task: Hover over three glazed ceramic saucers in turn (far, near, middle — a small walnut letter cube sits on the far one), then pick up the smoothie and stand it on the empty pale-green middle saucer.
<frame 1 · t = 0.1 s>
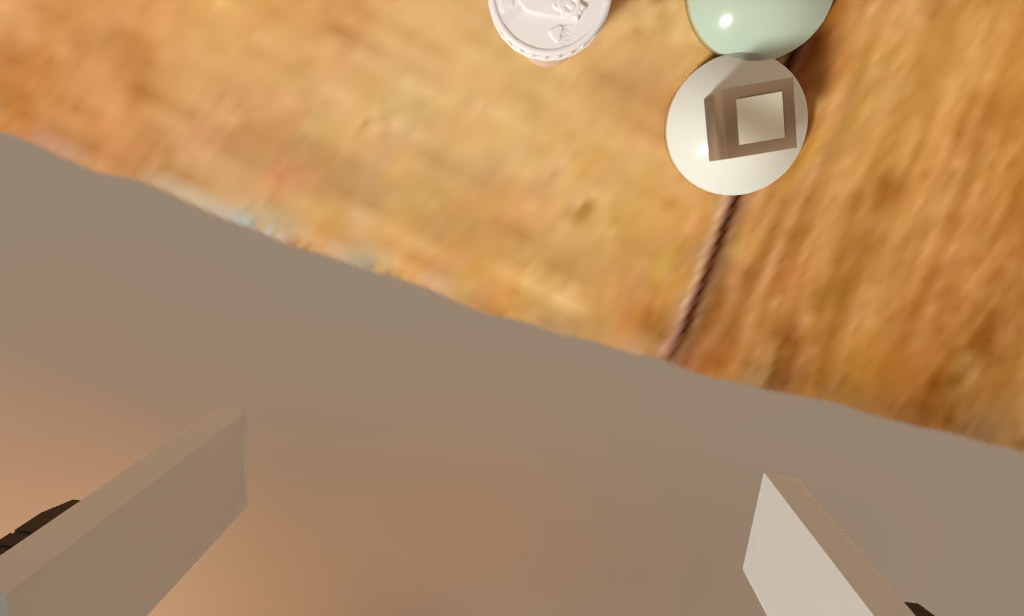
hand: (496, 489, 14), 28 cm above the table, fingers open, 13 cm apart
smoothie: (548, 38, 38), on the table
letter cube: (737, 125, 37), point 1 cm above the table, touching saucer
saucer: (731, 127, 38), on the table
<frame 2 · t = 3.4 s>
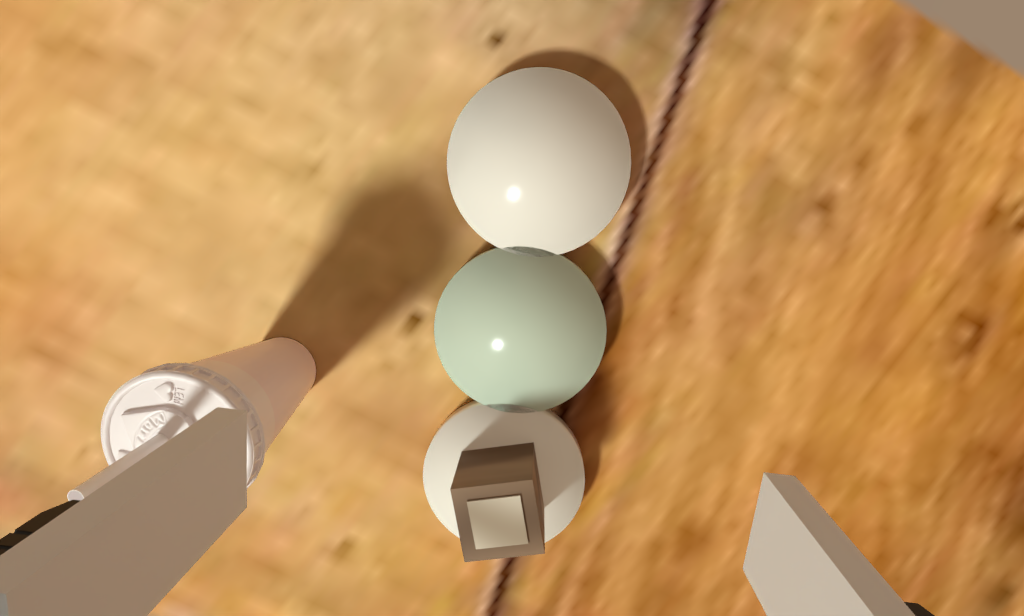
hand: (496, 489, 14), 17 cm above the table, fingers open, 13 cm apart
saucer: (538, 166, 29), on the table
saucer mid: (520, 326, 31), on the table
smoothie: (285, 367, 32), on the table
letter cube: (503, 479, 31), point 1 cm above the table, touching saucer
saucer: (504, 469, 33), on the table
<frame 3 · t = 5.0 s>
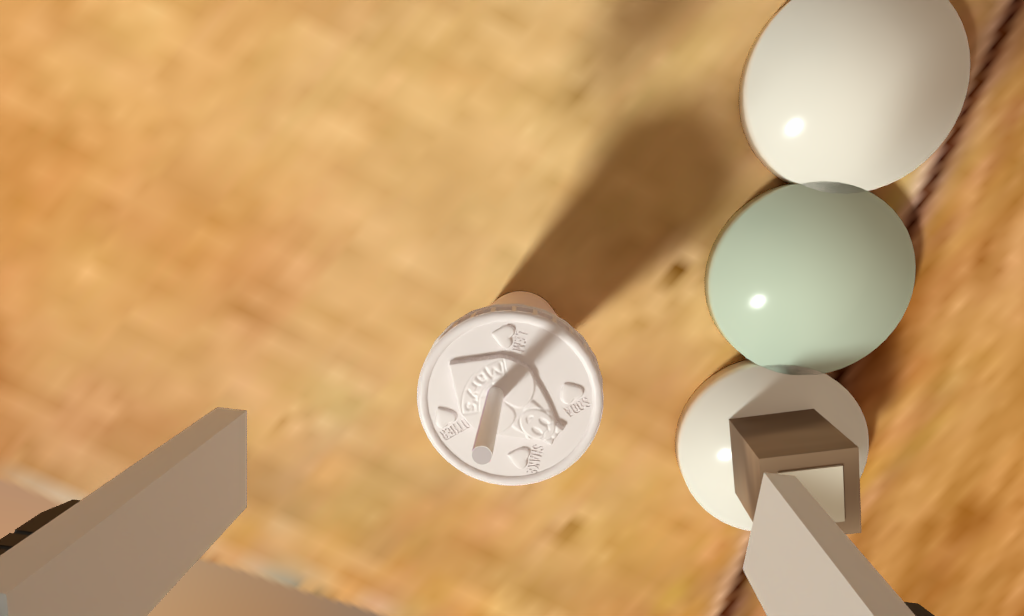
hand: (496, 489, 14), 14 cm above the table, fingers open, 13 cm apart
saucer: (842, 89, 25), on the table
saucer mid: (800, 277, 27), on the table
smoothie: (521, 326, 29), on the table
letter cube: (773, 451, 28), point 1 cm above the table, touching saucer
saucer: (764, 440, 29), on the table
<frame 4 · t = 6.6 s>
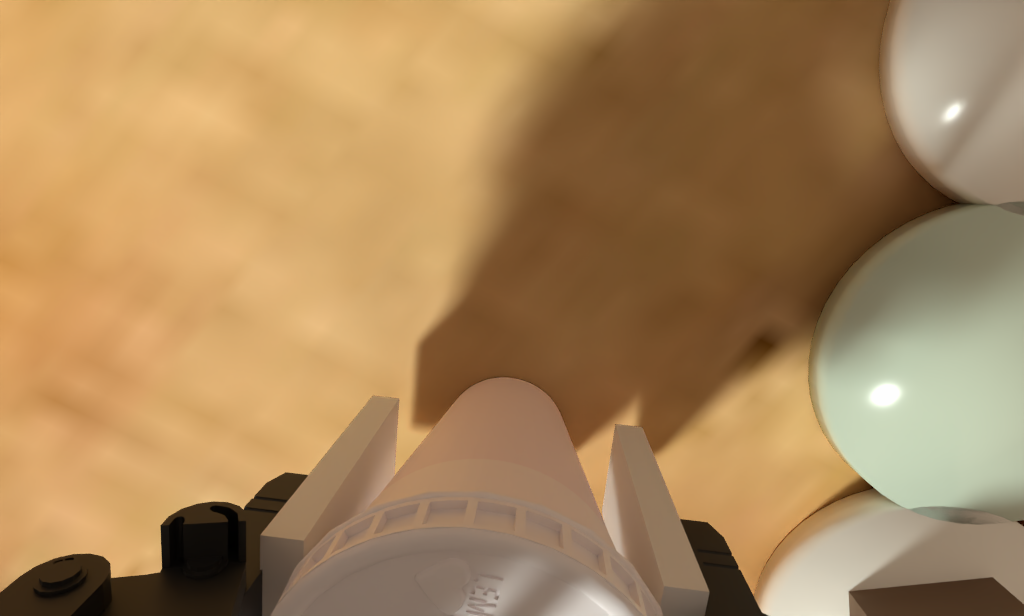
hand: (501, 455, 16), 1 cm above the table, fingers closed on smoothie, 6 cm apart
saucer mid: (970, 359, 16), on the table
smoothie: (505, 431, 18), on the table, touching gripper
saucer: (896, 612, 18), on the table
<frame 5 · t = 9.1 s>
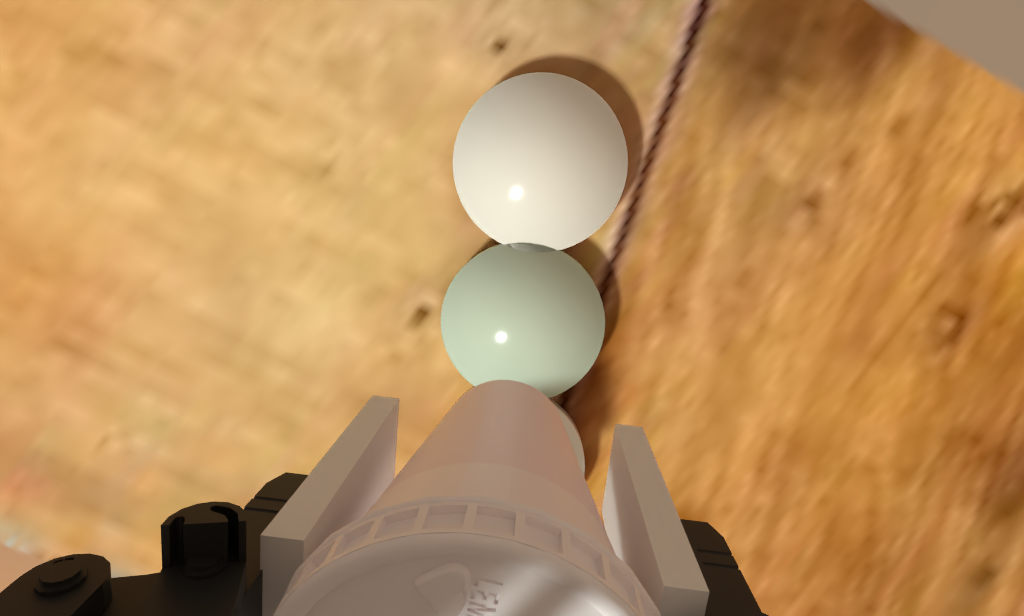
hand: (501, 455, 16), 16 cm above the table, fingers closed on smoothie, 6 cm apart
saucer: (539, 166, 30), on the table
saucer mid: (523, 319, 32), on the table
smoothie: (505, 433, 18), point 15 cm above the table, touching gripper
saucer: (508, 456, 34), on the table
when the fingers open (4 cm above the table, at t = 11.7 s): smoothie stays where it is, resting on saucer mid.
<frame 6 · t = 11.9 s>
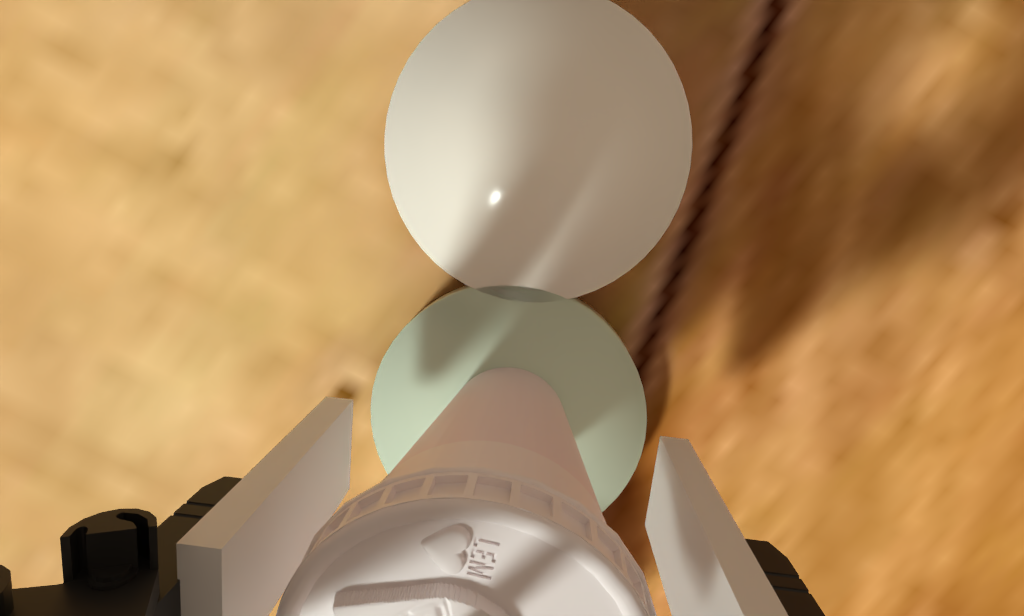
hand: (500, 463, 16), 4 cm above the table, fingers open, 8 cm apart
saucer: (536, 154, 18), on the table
saucer mid: (509, 407, 20), on the table
smoothie: (508, 418, 19), point 1 cm above the table, touching saucer mid
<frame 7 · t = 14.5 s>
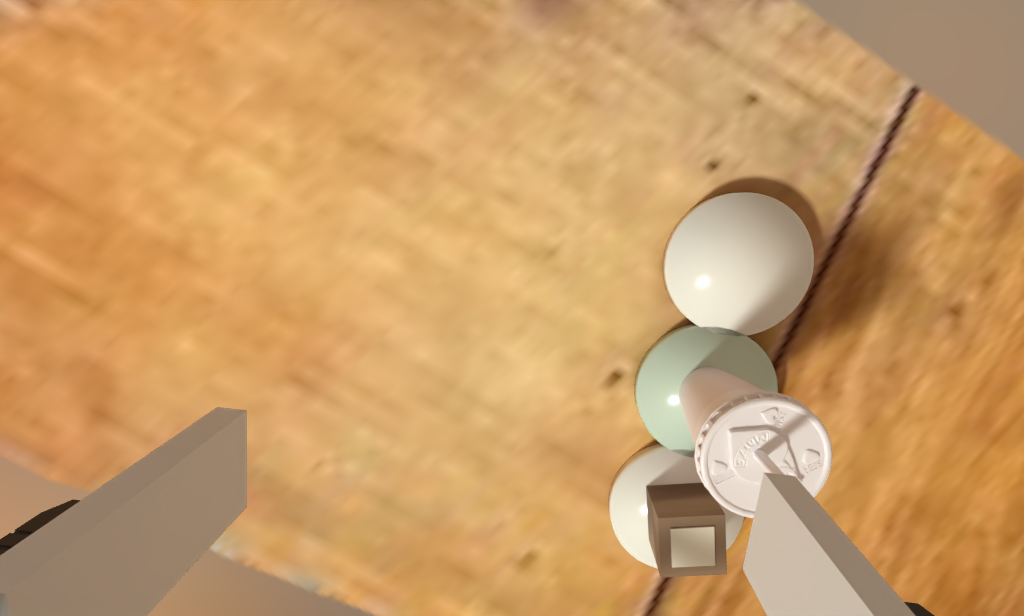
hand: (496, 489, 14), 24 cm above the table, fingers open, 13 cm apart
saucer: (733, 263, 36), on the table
saucer mid: (701, 388, 38), on the table
smoothie: (706, 392, 37), point 1 cm above the table, touching saucer mid
letter cube: (677, 511, 38), point 1 cm above the table, touching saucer
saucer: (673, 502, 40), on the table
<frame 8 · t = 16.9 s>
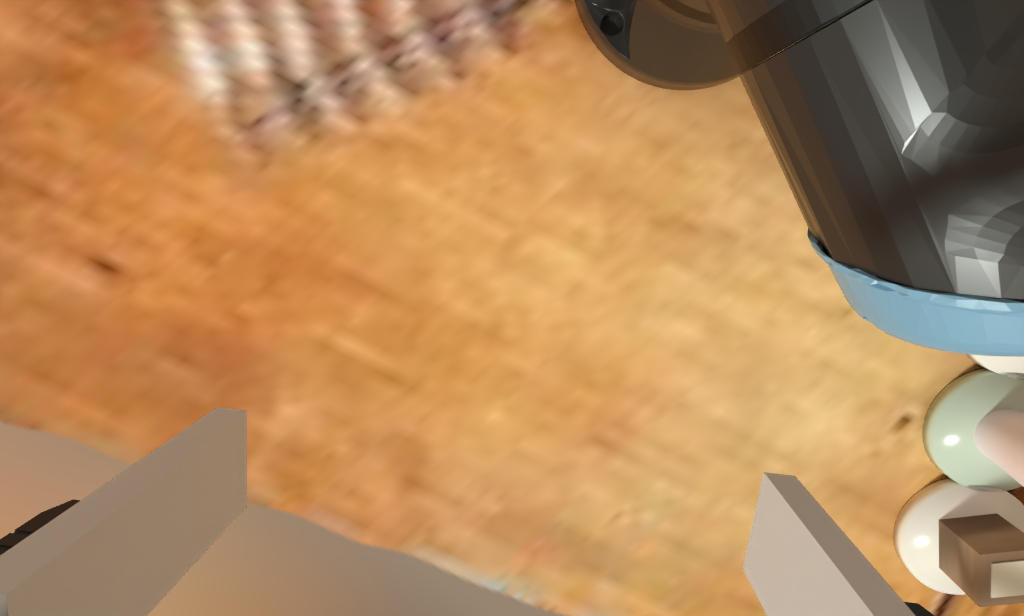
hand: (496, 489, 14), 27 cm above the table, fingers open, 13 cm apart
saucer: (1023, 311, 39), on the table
saucer mid: (988, 426, 41), on the table
smoothie: (999, 432, 40), point 1 cm above the table, touching saucer mid
letter cube: (967, 540, 41), point 1 cm above the table, touching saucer
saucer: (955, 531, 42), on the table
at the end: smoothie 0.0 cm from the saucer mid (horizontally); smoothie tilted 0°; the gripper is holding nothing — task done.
